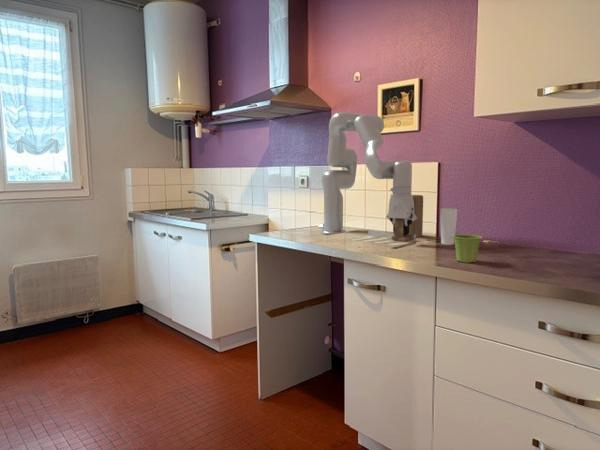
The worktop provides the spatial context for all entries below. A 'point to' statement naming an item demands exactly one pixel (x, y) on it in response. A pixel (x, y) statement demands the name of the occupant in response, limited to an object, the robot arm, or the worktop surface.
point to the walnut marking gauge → (400, 231)
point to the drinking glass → (448, 225)
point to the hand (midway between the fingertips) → (401, 234)
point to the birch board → (385, 238)
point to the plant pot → (466, 247)
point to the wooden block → (418, 210)
